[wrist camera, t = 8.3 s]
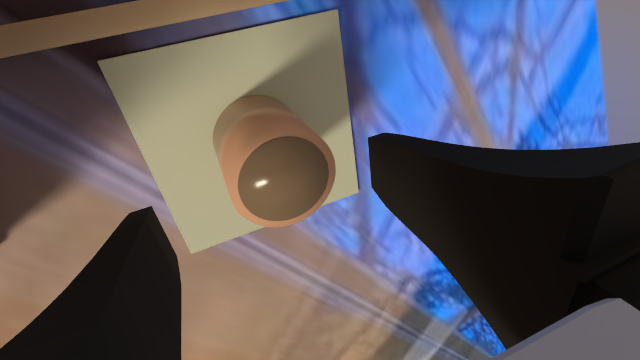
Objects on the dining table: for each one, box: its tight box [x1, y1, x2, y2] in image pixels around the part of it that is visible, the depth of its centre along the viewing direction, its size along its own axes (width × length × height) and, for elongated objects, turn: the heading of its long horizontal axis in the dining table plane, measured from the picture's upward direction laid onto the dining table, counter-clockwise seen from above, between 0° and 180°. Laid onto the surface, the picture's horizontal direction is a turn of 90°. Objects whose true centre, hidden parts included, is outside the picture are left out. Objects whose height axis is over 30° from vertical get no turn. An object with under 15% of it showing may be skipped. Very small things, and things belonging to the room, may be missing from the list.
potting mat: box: [97, 9, 359, 254], centre depth 20 cm, size 12×12×1 cm
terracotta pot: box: [213, 95, 336, 227], centre depth 17 cm, size 5×5×6 cm
